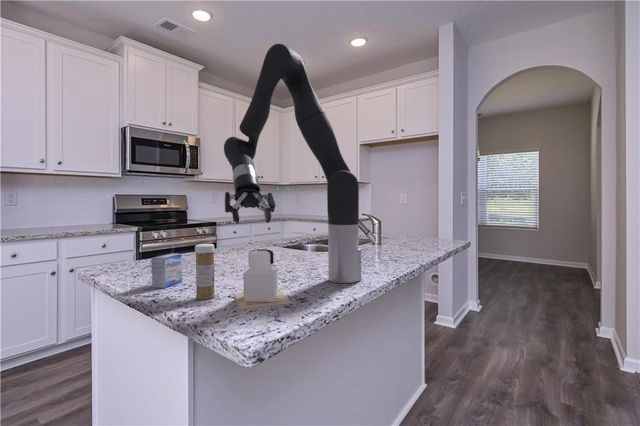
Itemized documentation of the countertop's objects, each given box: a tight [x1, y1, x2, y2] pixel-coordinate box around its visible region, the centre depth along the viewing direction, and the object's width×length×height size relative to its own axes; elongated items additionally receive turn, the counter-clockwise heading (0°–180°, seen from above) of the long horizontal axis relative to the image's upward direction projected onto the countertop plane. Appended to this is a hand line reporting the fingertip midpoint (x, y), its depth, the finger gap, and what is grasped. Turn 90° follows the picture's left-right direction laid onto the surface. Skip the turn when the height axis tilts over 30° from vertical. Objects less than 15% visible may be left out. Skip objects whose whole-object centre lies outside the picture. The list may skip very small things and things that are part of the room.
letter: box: [233, 288, 293, 310], centre depth 81 cm, size 12×13×1 cm
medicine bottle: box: [243, 248, 279, 302], centre depth 81 cm, size 7×7×12 cm
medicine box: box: [150, 253, 183, 289], centre depth 96 cm, size 8×4×9 cm, turn 168°
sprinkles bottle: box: [194, 243, 216, 301], centre depth 82 cm, size 5×5×14 cm
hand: (253, 221), depth 91 cm, fingers open, 8 cm apart
